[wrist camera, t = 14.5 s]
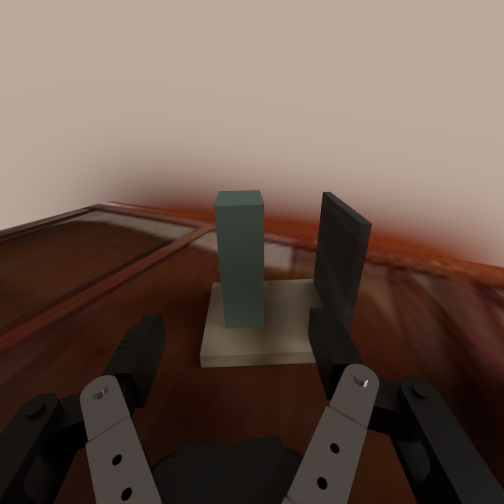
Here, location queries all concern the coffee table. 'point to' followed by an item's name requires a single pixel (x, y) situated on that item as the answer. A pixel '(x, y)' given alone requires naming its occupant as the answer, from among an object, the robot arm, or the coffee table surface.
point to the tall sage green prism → (241, 256)
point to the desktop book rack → (295, 298)
